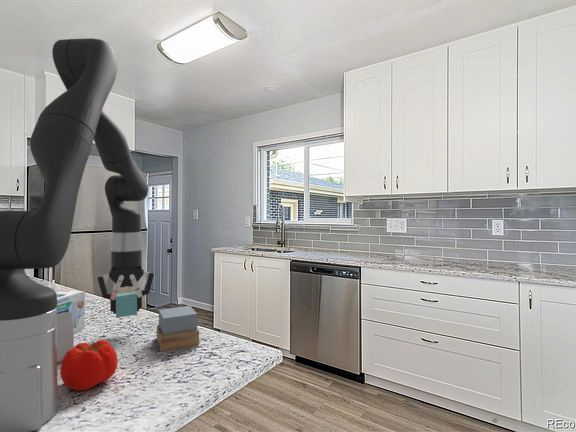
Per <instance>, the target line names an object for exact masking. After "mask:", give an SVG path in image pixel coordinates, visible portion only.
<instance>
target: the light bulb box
mask: <svg viewBox="0 0 576 432" xmlns="http://www.w3.org/2000/svg"><path fill="white" fill-rule="evenodd" d="M56 294H57V314H61V313H66V312H71V315H72V324H73V331H74V334H75V333H77V332H79V331H80V332H81V331H82V330H85V329H86V328H85V327H86V326H85V325H86V318H85V317H86V311H85V310H86V307H85V306H86V299H85V298H86V295H85V294H86V292H85V291H84V290H71V289H70V290H69V289H65V290H61V291H57V292H56Z"/></svg>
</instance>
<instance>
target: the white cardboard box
mask: <svg viewBox="0 0 576 432" xmlns="http://www.w3.org/2000/svg"><path fill="white" fill-rule="evenodd" d="M74 334H75V333H74V331H73V324H72V315H71V312H66V313H61V314H57V363H58V362H62V361H63V358H64V356H65V354H66V353H67V352H68V351H69V350H70V349H73V348H74V347H75V346H74V337H75V335H74Z"/></svg>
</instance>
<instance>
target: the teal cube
mask: <svg viewBox="0 0 576 432" xmlns="http://www.w3.org/2000/svg"><path fill="white" fill-rule="evenodd" d="M136 315H138V311H137V294H136V291H134V292H126V293H117V296H116V314H115V317H116V318H123V317H129V316H136Z"/></svg>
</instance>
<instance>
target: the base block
mask: <svg viewBox="0 0 576 432" xmlns="http://www.w3.org/2000/svg"><path fill="white" fill-rule="evenodd" d="M156 342H157V344H158V346H159V351H160V352H161V353H162V352H167V351H173V350H174V351H175V350H179V349H184V348H190V347H197V346H200V329H199V327H197V330H191V331H185V332H179V333H173V334H167V335H163V333H162V331H161V328H160V326H159V324H157V325H156Z"/></svg>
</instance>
